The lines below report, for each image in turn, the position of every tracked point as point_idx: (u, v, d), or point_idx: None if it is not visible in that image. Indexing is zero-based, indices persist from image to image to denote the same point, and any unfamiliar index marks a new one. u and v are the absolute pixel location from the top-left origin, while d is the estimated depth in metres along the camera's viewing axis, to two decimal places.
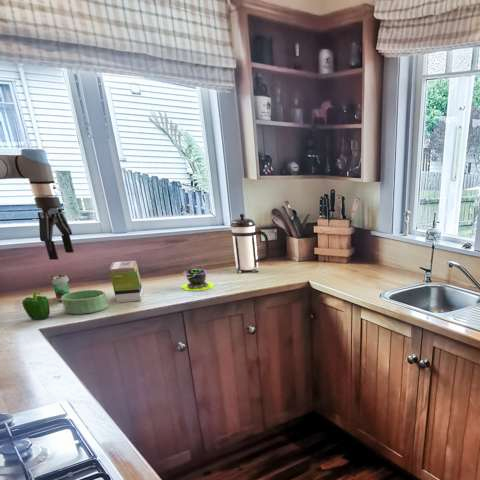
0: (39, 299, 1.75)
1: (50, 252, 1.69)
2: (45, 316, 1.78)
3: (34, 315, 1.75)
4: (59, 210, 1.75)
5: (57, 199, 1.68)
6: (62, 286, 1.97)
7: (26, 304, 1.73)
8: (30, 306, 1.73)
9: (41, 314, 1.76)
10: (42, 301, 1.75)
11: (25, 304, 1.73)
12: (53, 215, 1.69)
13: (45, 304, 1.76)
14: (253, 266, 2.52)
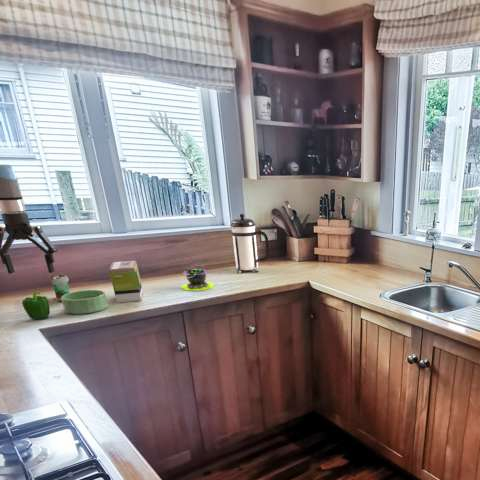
0: (39, 299, 1.75)
1: (50, 265, 1.72)
2: (45, 316, 1.78)
3: (34, 315, 1.75)
4: None
5: None
6: (62, 286, 1.97)
7: (26, 304, 1.73)
8: (30, 306, 1.73)
9: (41, 314, 1.76)
10: (42, 301, 1.75)
11: (25, 304, 1.73)
12: None
13: (45, 304, 1.76)
14: (253, 266, 2.52)
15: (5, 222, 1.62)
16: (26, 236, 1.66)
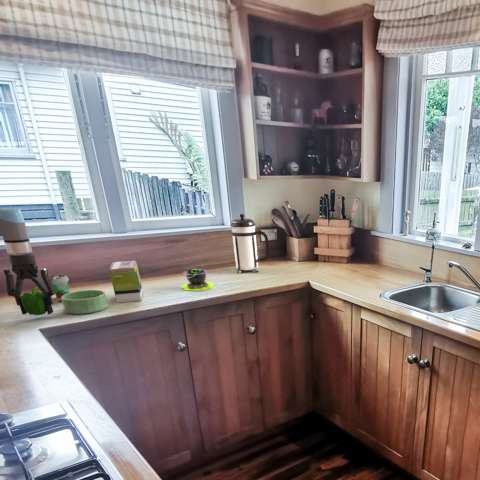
0: (38, 295, 1.74)
1: (49, 306, 1.78)
2: (43, 312, 1.77)
3: (32, 311, 1.75)
4: None
5: None
6: (62, 286, 1.97)
7: (24, 300, 1.73)
8: (28, 302, 1.73)
9: (40, 310, 1.76)
10: (41, 297, 1.74)
11: (23, 300, 1.73)
12: None
13: None
14: (253, 266, 2.52)
15: (12, 263, 1.67)
16: (32, 276, 1.71)
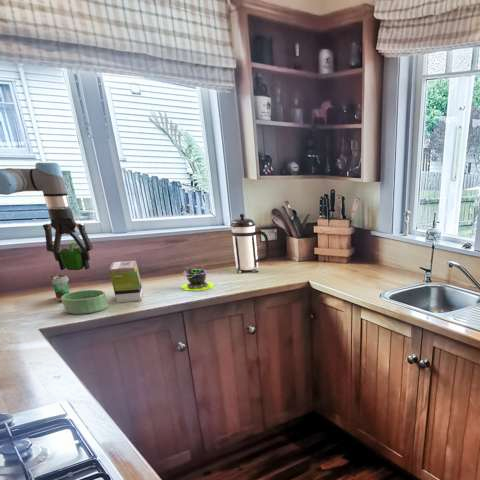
0: (75, 250, 1.79)
1: (86, 262, 1.82)
2: (81, 267, 1.81)
3: (70, 265, 1.79)
4: None
5: None
6: (62, 286, 1.97)
7: (63, 254, 1.77)
8: (67, 256, 1.77)
9: (78, 265, 1.80)
10: (78, 252, 1.79)
11: (62, 254, 1.77)
12: None
13: (81, 255, 1.80)
14: (253, 266, 2.52)
15: (51, 217, 1.71)
16: (70, 230, 1.75)
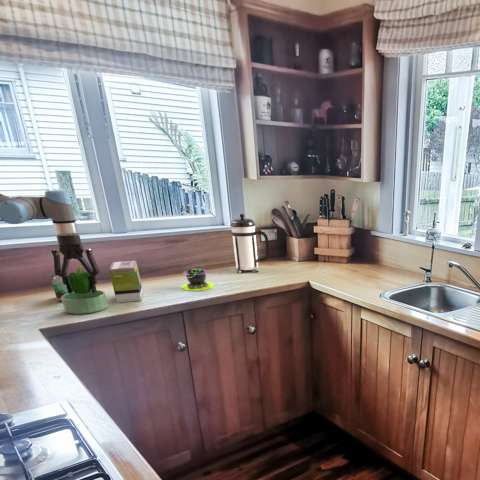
0: (83, 274, 1.83)
1: (93, 285, 1.86)
2: (88, 291, 1.86)
3: (78, 289, 1.83)
4: None
5: None
6: (62, 286, 1.97)
7: (71, 279, 1.81)
8: (75, 280, 1.81)
9: (85, 288, 1.84)
10: (86, 276, 1.83)
11: (70, 279, 1.81)
12: None
13: (88, 279, 1.84)
14: (253, 266, 2.52)
15: (60, 243, 1.76)
16: (78, 256, 1.80)
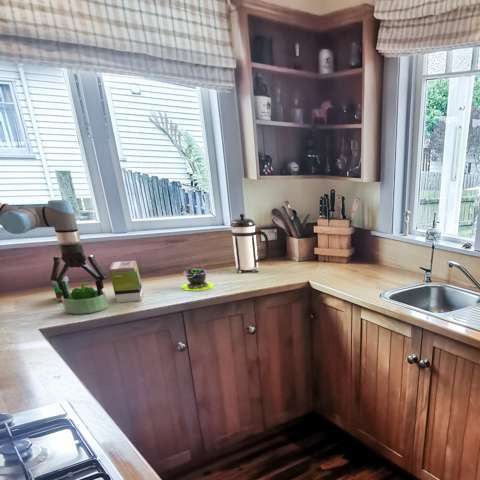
0: (87, 290, 1.86)
1: (100, 290, 1.88)
2: None
3: None
4: None
5: None
6: None
7: (75, 294, 1.84)
8: (79, 296, 1.84)
9: None
10: (90, 291, 1.86)
11: (74, 294, 1.84)
12: None
13: (92, 294, 1.87)
14: (253, 266, 2.52)
15: (62, 252, 1.77)
16: (80, 264, 1.81)
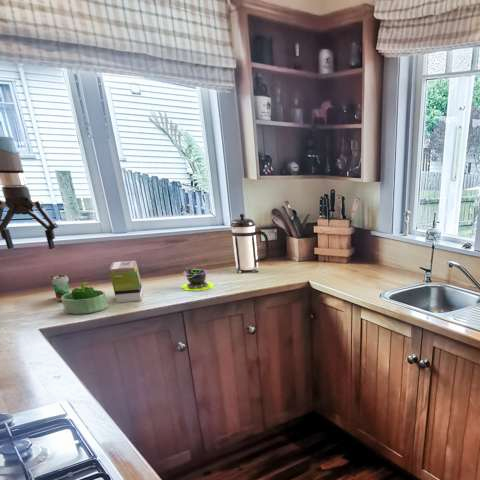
0: (87, 290, 1.86)
1: (50, 241, 1.70)
2: None
3: None
4: None
5: None
6: (62, 286, 1.97)
7: (75, 294, 1.84)
8: (79, 296, 1.84)
9: None
10: (90, 291, 1.86)
11: (74, 294, 1.84)
12: None
13: (92, 294, 1.87)
14: (253, 266, 2.52)
15: (6, 195, 1.60)
16: (27, 211, 1.64)
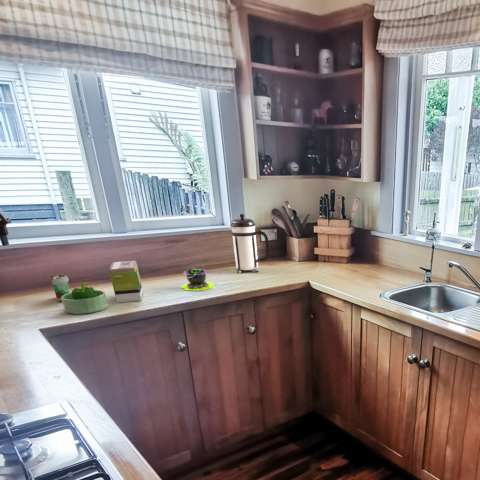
0: (87, 290, 1.86)
1: (4, 237, 1.59)
2: None
3: None
4: None
5: None
6: (62, 286, 1.97)
7: (75, 294, 1.84)
8: (79, 296, 1.84)
9: None
10: (90, 291, 1.86)
11: (74, 294, 1.84)
12: None
13: (92, 294, 1.87)
14: (253, 266, 2.52)
15: None
16: None
